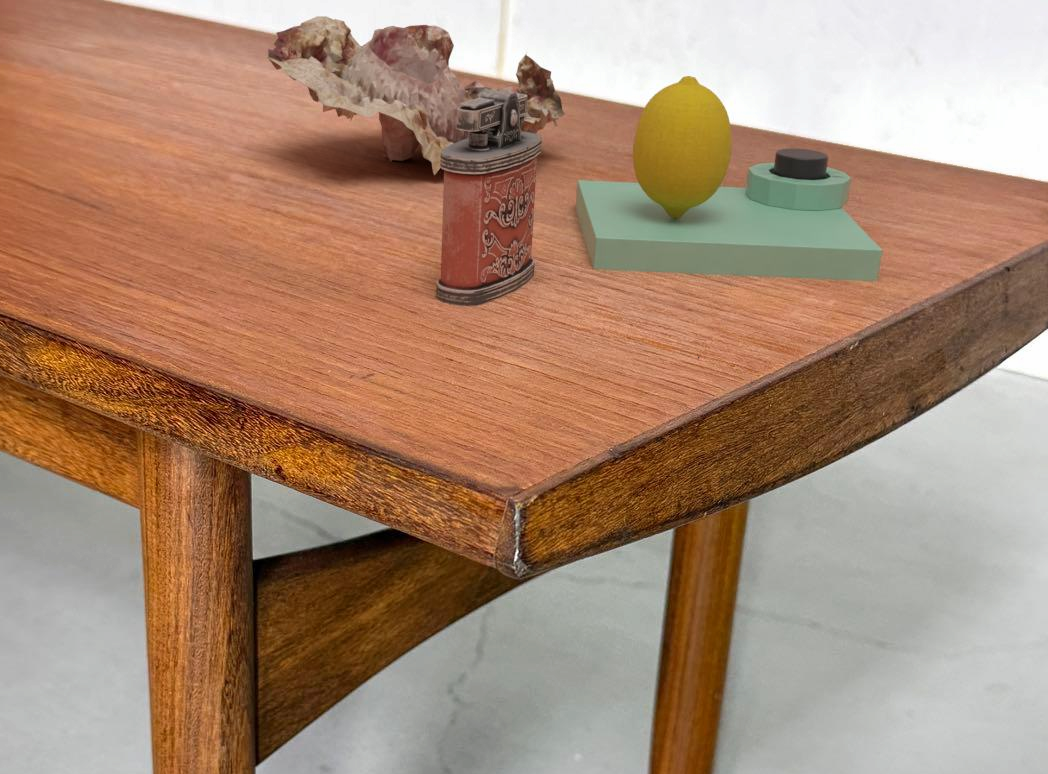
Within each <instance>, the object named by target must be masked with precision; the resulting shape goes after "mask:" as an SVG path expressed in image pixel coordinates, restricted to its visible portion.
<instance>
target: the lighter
mask: <svg viewBox="0 0 1048 774" xmlns="http://www.w3.org/2000/svg"><path fill="white" fill-rule="evenodd" d="M526 110H527V95H525V94H519V93H511V92H504V91H497V90H489V89H487V90H483V92H482V93H481V95H480V98H477V99H473V100H470V101H467V102H463V103H461V107H458V108H457V129H458V130H463V131H470V132H469V138H468V139H464V140H461V141H459V142H457V143H454V144H452V145H450V146H448V147H446V148H445V149H443V150H442V151H441V158H440V169H442V170H443V191H442V221H441V223H442V225H441V252H440V254H441V255H440V256H441V257H440V277H439V279H438V280H436V293H435V294H436V295H435V299H437V300H438V301H439V302H441V303H443V304H446V305H450V306H457V307H476V306H483V305H485V304H487V303H490V302H494V301H497V300H500V299H502V298H505V297H506V296H508V295H511V294H513V293H515V292H517V291H518V290H520V289H521V288H522V287H524V286H525V285H527V284H528V283H529V282H530V281H531V280H532V279H533V278H534V276H535V262H536V261H535V259H534V258H533V257H532V251H533V250H532V249H533V236H534V235H533V233H534V217H535V214H534V213H535V202H536V201H535V200H536V184H537V167H538V166H537V165H538V156H539V155H540V154H542V143H543V136H542V135H540V134H538V133H536V134H535V133H529V132H522V131H521V128H522V125H523V123H524V116H525V115H526Z"/></svg>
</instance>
